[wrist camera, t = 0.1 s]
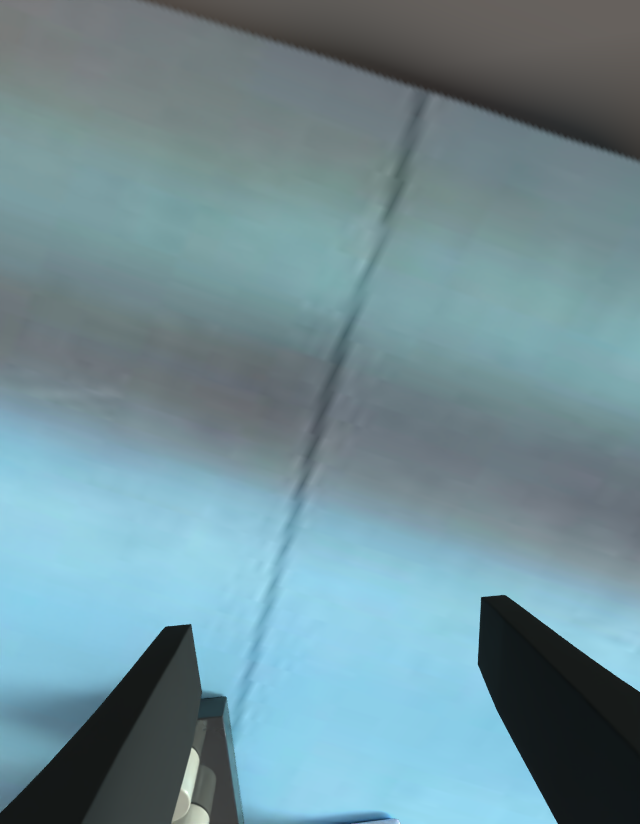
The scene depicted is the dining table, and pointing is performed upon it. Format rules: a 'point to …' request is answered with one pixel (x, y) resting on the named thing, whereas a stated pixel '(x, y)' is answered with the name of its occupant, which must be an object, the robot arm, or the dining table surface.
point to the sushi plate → (210, 771)
